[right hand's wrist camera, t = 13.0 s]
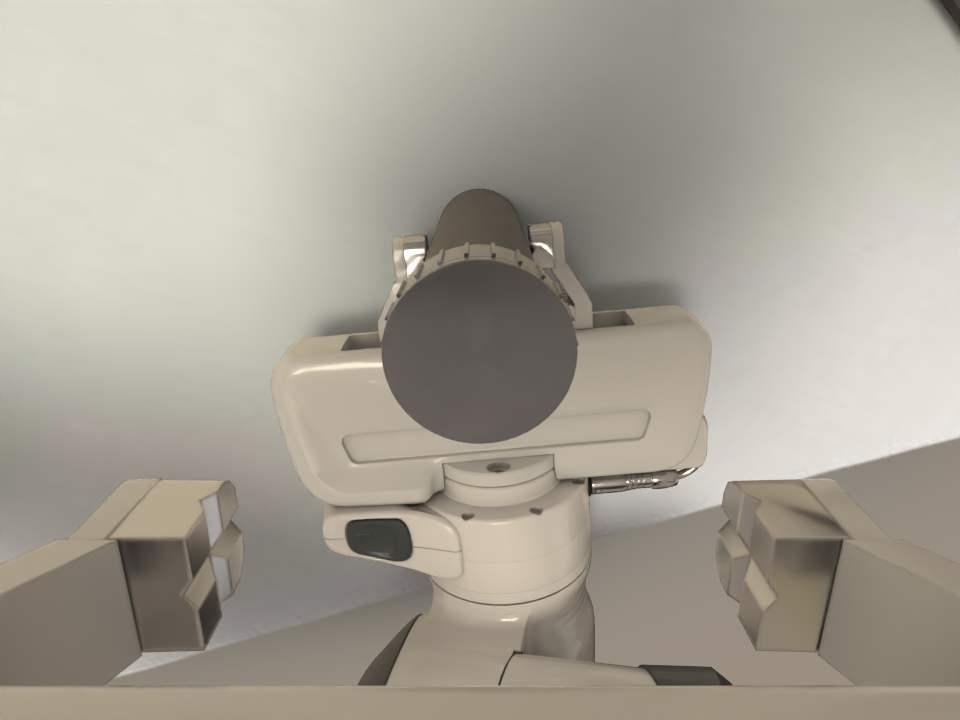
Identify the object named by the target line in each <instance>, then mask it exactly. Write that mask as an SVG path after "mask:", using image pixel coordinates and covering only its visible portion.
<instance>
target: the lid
mask: <svg viewBox="0 0 960 720" xmlns="http://www.w3.org/2000/svg"><path fill="white" fill-rule="evenodd" d="M396 297H397V299H396V301H395V302H392V303H391V305H390V308H389V310H388V312H387V314H386V316H385V319H384V320H386V321H387V322H386V325H385V329H384V333H383V338H382V340H381V345H382V364H383V371H384V374H385V377H386V381H387V383H388V386H389V388H390V390H391V392H392V394H393V396H394V397H395V399H396V400H397V402H398V404H399V405H400V406H401V407H402V408H403V410H404V411H405V412H406V413H407V414H408V415H409V416H410V417H411V418H412V419H413V420H414V421H416V422H417V423H418V424H420V425H421V426H422V427H424V428H425V429H427V430H429V431H431V432H433V433H434V434H437V435H439V436H441V437H444V438H447V439H450V440H454V441H457V442H463V443H471V444H487V443H496V442H501V441H506V440H509V439H512V438H515V437H518V436H520V435H522V434H524V433H527V432H529V431H530V430H532V429H533V428H535V427H537V426H538V425H540V424H541V423H542V422H543V421H544V420H546V419H547V418H548V417H549V416H550V415H551V414H552V413H553V412H554V411H555V410H556V409H557V407H558V406H559V405H560V403H561V402H562V401H563V399H564V398H565V396H566V394H567V392H568V390H569V388H570V386H571V383H572V381H573V378H574V374H575V370H576V366H577V356H578V349H577V346H578V340H577V338H576V332H575V328H574V325H573V321H575V319H574V316H573V314H572V312H571V310H570V308H569V306H568V303H567V302H566V303H564V301H563V297H564V296H563V294H562V291H561V289H560V287H559V285H558V283H557V281H554V282H553V281H552V279H551V278H550V277H549V276H548V275H547V274H546V272H545V271H544V270H543V267H542V265H541V264H540V263H539V262H538V263H537V264H536V263H535V262H533V261H532V260H530V259H529V258H527V257H525V256H524V255H522V254H521V253H520V250H518V249H516V251H513V250H510V249H507V248H504V247H500V246H495V243H492V242H491V245H483V244H474V245H469V242H467V243H465V245H464V246H460V247H456V248H452V249H449V250H446V251H444V249H441V250H440V252H439V254H438V255H436V256H434V257H432V258H430V259H429V260H427V261H426V262H425V263H422V262H420V263H419V264H418V266H417V269H416V270H415V271H414V272H413V273H412V275H411V276H410V277H409V278H408V280H407V281H405V280H403V281H402V283H401V285H400V287H399V290H398V292H397V294H396Z"/></svg>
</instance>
